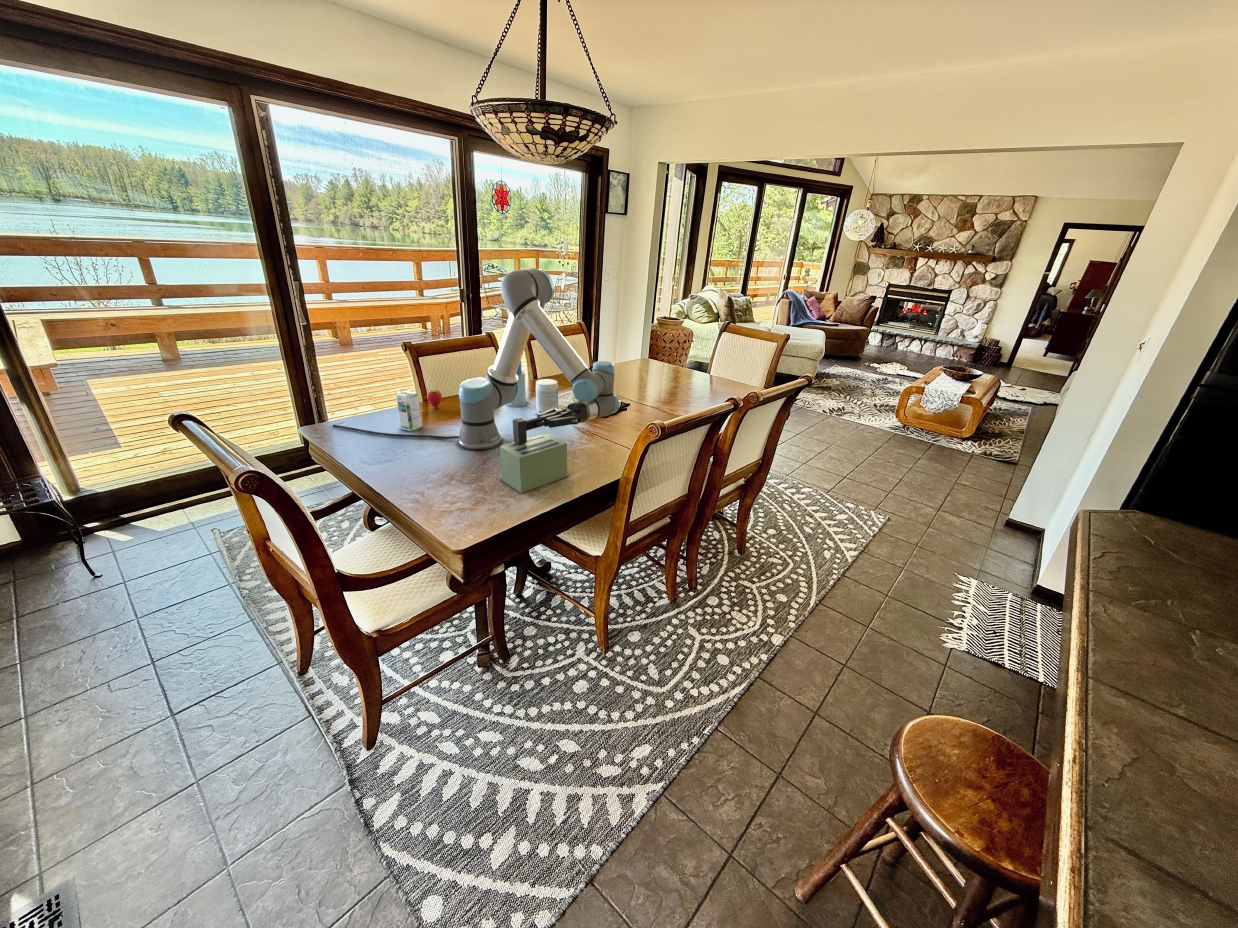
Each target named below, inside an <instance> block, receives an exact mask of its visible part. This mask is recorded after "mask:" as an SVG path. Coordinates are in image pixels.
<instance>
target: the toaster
mask: <svg viewBox="0 0 1238 928" xmlns="http://www.w3.org/2000/svg"><path fill="white" fill-rule="evenodd" d="M499 457H500V472H501V481H502V482H503V483H505V484H507V485H508V486H509V487H511V488H513V489H514V490H515V491H517V492H519V493H520V494H523V493H525V492H528V491H531V490H534V489H537V488H539V487H542V486H544V485H547V484H550V483H553V482H555V481H558V480H562V479H564V478H566V477H568V443H567V442H565V441H563V440H562V439H560V438H557V437H556V436H553V435H552V434H549V433H548V432H545V433H542V434H539V435H534V436H531V437H527V443H524V444H520V445H518V444H516V443H515V442H514V441H513V442H509V443H506V444H503V445H502V444H501V445H499Z"/></svg>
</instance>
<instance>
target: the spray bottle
mask: <svg viewBox="0 0 1238 928" xmlns="http://www.w3.org/2000/svg"><path fill="white" fill-rule="evenodd" d="M516 375H517V376H518V382H517V383H518V385H519V391H518V394H517V396H516V398H515V399H513V400H512V401H511V402H510V403H508V404H506V405H507V406H509V407H523V406H525V405H526V404H527V393H526V391H527V390H526V374H525V372H524V371H522V360H521V361H520V363H519V366H518V369H517V372H516Z"/></svg>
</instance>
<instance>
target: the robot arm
mask: <svg viewBox="0 0 1238 928" xmlns="http://www.w3.org/2000/svg"><path fill="white" fill-rule="evenodd" d="M500 295H501V298H502V300H503V302H504V305H505V306H506V308H507V309H508V311H509V312H510V313H509V317H508V320H507V323H506V326H505V329H504V332H503V336H502V339H501V341H500V345H499V348H498V350H497V351H498V352H497V354H496V357H495V360H494V363H493V365H491V366H489V367H488V368H487V371H486V374H485V377H473V378H468V379H466V380H464V381H462V382H461V383H460V384H459V386H458V398H459V406H460V407H459V408H460V418H461V426H460V430H459V435H452V436H451V435H449V436H448V435H447V436H442V435H431V434H401V433H388V432H379V431H373V430H367V429H361V428H355V427H352V426H351V427H350V426H346V425H345V426H344V425H338V424H332V427H333V428H337V429H338V428H339V429H344V430H349V431H356V432H361V433H365V434H372V435H379V436H389V437H400V438H401V437H402V438H429V439H440V440H451V439H458V446H460V447H461V448H462V449H466V450H470V451H482V450H490V449H492V448H495V447H497V446H500V444H501V442H502V436H501V433H500V432H499V430H498V427H497V425H496V422H495V411H496V410H497V409H499V408H501V407H503V406H506V405H507V404H508V403H510V402H511V401H512V400H513V399H515V398H516V396H517V394H518V391H519V385H518V383H517V382H518V376H517V375H516V372H517V369H518V366H519V363H520V361H521V362H522V358H523V354H524V352H525V349H526V346H527V343H528V340H529V337H530V334H531V335H532V336H533V337H534V338H535V340H536V341H537V342H538V343H539V345H540V346H541V348H542V349H543V350H544V351H545V352H546V354H547V355H548V356H549V358H550V359H551V360H552V361H553V363H554V364H555V365H556V366H557V368H558V369H559V370H560V372H561V373H562V374H563V375H564V377H566V379H567V380H568V382H569V383H570V384H571V385H572V389H571V391H572V394H573V397H574V398H575V399H576V401H572V402H570V403H568V405H567V406H566V407H563V408H562V407H561V408H560V409H558V410H556V407H553V408H552V409H550V410H547V411H545V412H542V413H540V414H537V413H536V414H537V415H536V417H534V418H530V419H527V420H526V431H531V430H534V429H538V428H542V427H546V428H547V427H548V428H549V429H551V428H558V427H565V426H571V425H574V426H575V425H578V424H581V423H585V422H590V421H591V420H596V419H599V418H603V417H608V416H610V415H613V414H615V413H617V412H618V411H619V409H620V405H621V404H620V401H619V397H618V395H616V394H615V393H614V389H615V388H614V387H615V374H616V373H615V364H614V363H613V362H610V361H607V360H598V361H595V362H593V364H592V371H591V370H590V369H589V368H588V366H587V365H586V364H585V362H584V361H583V359H582V358H581V357H580V356H579V354H578V353H577V352H576V351H575V349H574V348H573V347H572V345H571V344H570V343H569V341H567V339H566V338H565V337H564V336H563V334H562V333H561V332H560V330H559V329H558V328H557V326H556V325H555V324H554V323H553V321H552V320H551V318H549V316H548V315H547V314H546V312H545V311H544V308H545V306H546V304H548V303H549V302H550V301H551V300H552V299H553V297H554V295H555V283H554V281H553V279H552V277H551V276H550V274H549V273H548V272H547V271H546V270H543V269H541V268H535V267H532V268H528V269H514V270H512V271H511V270H510V271H509V272H508V273H507V274H506V275H505V276H504V277H503V279H502V281H501V285H500Z"/></svg>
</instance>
